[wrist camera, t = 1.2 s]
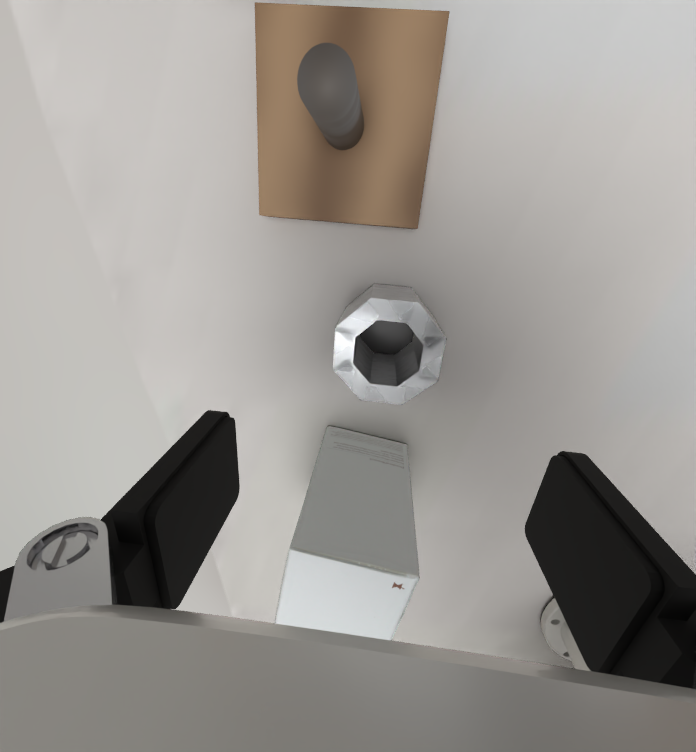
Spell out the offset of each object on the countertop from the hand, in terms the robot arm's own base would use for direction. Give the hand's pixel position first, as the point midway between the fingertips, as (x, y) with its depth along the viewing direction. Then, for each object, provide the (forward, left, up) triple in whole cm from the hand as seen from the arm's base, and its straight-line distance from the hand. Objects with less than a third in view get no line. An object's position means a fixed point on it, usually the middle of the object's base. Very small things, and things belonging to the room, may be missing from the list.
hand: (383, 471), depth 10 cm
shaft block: (+4, -12, -17) cm, 21 cm away
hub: (0, 0, -17) cm, 17 cm away
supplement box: (+1, +13, -17) cm, 21 cm away
